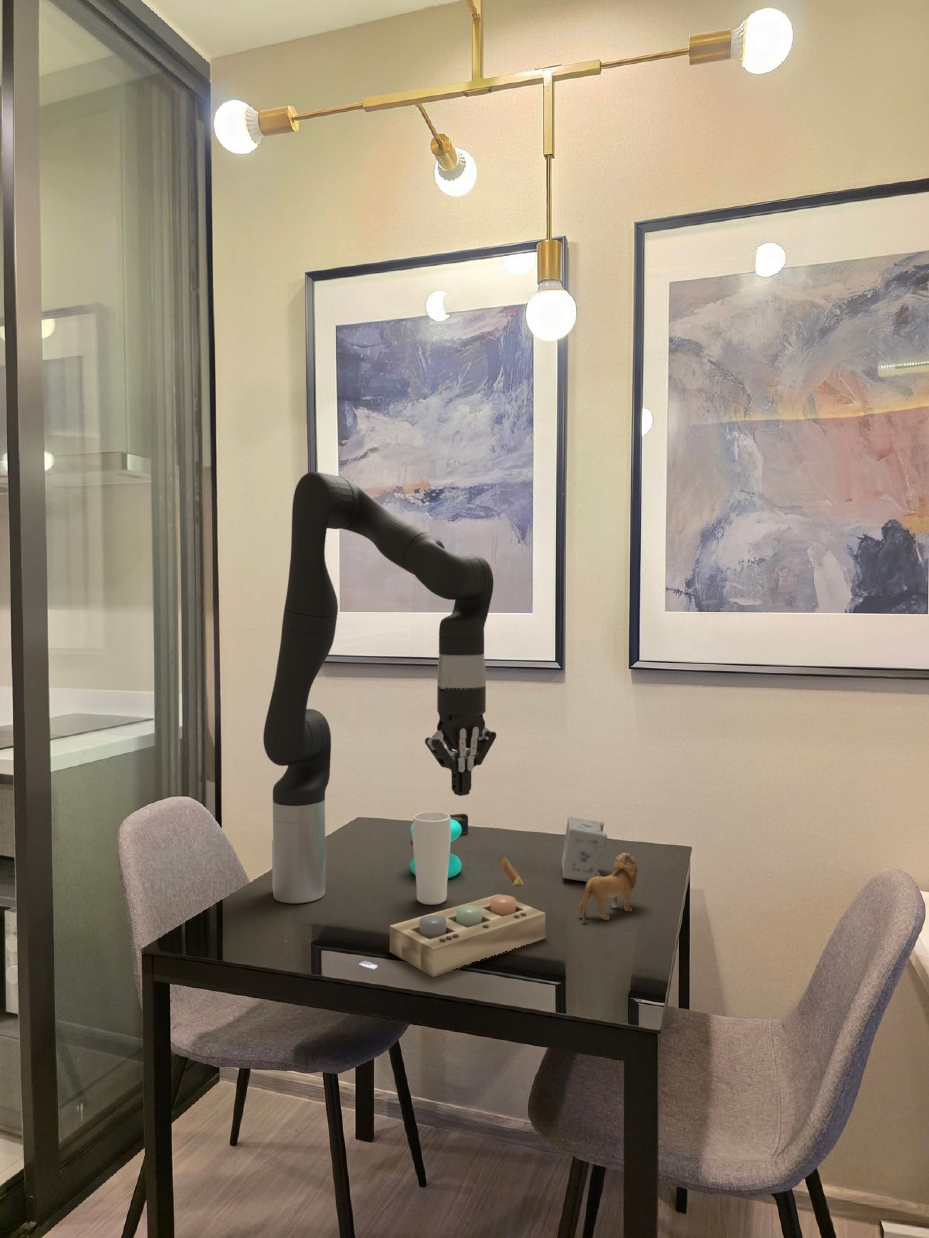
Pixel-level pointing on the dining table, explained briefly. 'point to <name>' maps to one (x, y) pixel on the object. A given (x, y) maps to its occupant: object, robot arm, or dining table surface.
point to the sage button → (468, 915)
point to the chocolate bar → (511, 872)
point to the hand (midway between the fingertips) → (461, 794)
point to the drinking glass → (431, 855)
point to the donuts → (453, 859)
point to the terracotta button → (503, 905)
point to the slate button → (432, 926)
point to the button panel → (466, 937)
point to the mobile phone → (460, 822)
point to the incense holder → (582, 849)
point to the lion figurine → (611, 886)
